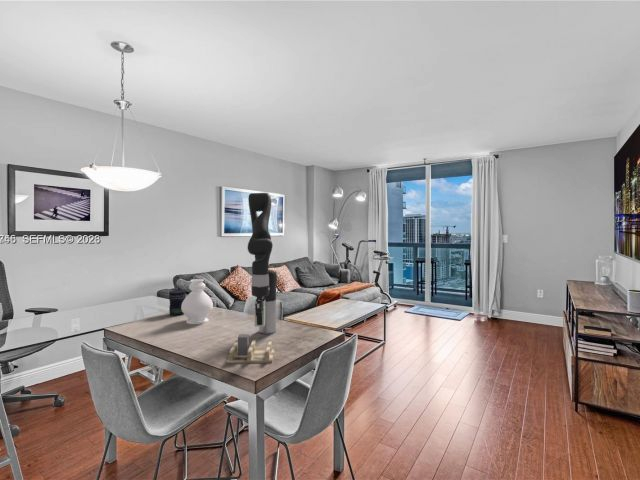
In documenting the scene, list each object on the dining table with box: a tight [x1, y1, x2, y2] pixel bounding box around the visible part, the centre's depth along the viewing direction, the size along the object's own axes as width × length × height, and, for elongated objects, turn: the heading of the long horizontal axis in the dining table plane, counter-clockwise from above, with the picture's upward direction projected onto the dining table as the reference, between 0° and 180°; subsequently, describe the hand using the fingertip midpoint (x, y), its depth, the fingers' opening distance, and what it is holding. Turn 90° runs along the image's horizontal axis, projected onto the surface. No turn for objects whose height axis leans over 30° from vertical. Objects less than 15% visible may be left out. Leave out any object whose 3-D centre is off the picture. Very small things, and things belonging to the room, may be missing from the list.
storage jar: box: [168, 289, 187, 317], centre depth 218 cm, size 10×10×15 cm
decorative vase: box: [181, 278, 214, 325], centre depth 201 cm, size 18×18×25 cm
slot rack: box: [225, 339, 276, 364], centre depth 148 cm, size 15×19×4 cm
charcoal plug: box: [237, 333, 250, 356], centre depth 147 cm, size 4×4×8 cm
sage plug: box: [254, 306, 265, 328], centre depth 147 cm, size 4×4×8 cm
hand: (260, 323), depth 147 cm, fingers closed on sage plug, 4 cm apart
